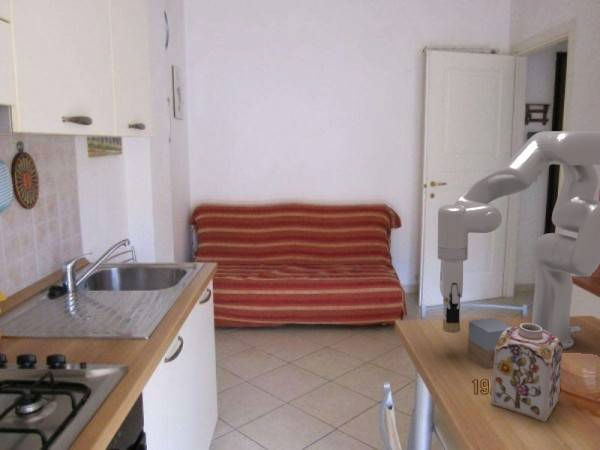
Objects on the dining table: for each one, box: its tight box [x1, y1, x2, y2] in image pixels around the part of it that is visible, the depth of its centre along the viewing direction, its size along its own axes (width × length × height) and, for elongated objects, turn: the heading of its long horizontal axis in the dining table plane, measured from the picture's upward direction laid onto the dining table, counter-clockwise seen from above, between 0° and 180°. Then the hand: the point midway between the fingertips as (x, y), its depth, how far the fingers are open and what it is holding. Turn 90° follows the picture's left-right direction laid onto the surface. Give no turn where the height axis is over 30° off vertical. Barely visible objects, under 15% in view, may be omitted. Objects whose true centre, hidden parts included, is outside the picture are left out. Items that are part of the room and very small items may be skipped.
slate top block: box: [467, 317, 512, 351], centre depth 131 cm, size 8×8×5 cm
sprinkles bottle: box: [442, 288, 461, 334], centre depth 132 cm, size 5×5×14 cm
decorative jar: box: [490, 322, 564, 423], centre depth 109 cm, size 12×12×18 cm
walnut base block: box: [467, 338, 495, 369], centre depth 132 cm, size 8×8×5 cm
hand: (451, 318), depth 132 cm, fingers closed on sprinkles bottle, 4 cm apart
